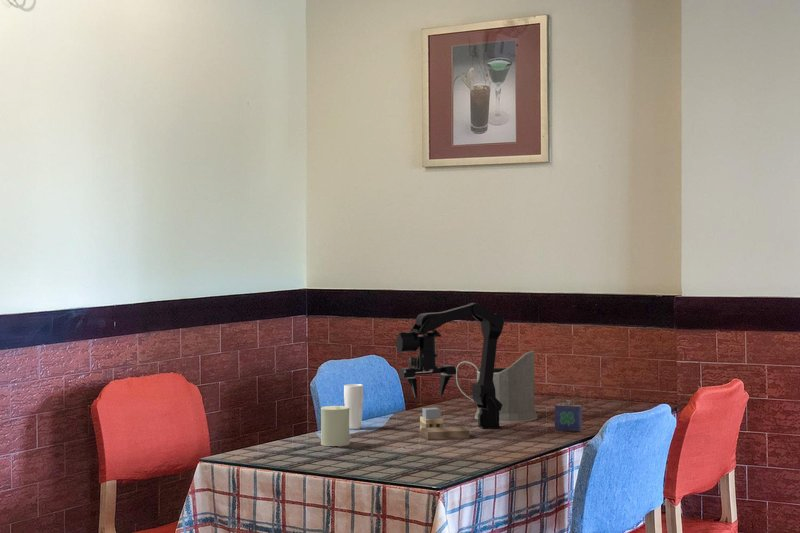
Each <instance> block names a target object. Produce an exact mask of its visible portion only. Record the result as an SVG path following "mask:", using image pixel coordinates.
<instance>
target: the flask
mask: <svg viewBox="0 0 800 533" xmlns="http://www.w3.org/2000/svg"><path fill="white" fill-rule="evenodd" d="M565 401H566V402H562V403H561V402H560V403H558V404H555V405H554V432H561V433H582V432H583V420H582V419H583V406H582V405H581V404H577V405H576V404H571V402H572V401H571V400H570V399H566V400H565Z"/></svg>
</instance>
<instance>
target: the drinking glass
mask: <svg viewBox="0 0 800 533" xmlns="http://www.w3.org/2000/svg"><path fill="white" fill-rule="evenodd" d="M343 402H344V406H347V407H349V408H350V409H349V430H359V429H362V420H363V408H364V407H363V406H364V385H363V384H361V383H359V384H358V383H348V384H344V385H343Z"/></svg>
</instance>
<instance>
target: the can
mask: <svg viewBox="0 0 800 533" xmlns="http://www.w3.org/2000/svg"><path fill="white" fill-rule="evenodd" d="M349 409H350V408H349V407H347V406H345V405H326V406H325V405H324V406H321V408H320V423H321V424H320V425H321V430H320V433H321V435H320V438H321V440H320V445H321V446H323V447H330V446H338V447H346V446H349V445H351V442H350V429H349Z"/></svg>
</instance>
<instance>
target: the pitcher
mask: <svg viewBox="0 0 800 533" xmlns="http://www.w3.org/2000/svg"><path fill="white" fill-rule="evenodd" d="M463 363H464V364H465V363H466V364H469V365H472V366H473V367H474V368H475V370H476V383H477V382H478V380H479V377H480V369H479V367H478V366H477V365H476V364H475V363H473V362H472V361H467V360H466V361H465V360H464V361H461V362H459V363H458V364H457V366H456V374H455V381H456V385H457V388H458V389H459V390H460V392H461V393H462V394H463V396H465V397H466V398H468V399H470V400H471V401H473V402H474V400H473V397H471V396H469V394H467V393H466V392H465V391H464V389H462V388H461V385H460V382H459V368H460V366H461V365H462V364H463ZM493 383H494V386H495V391H496V399H497V400H498V401H499V402H500V403H501V404H502V408H501V410H500V411H499V423H517V422H519V423H520V422H521V421H522V422H530V421H535V420H537V419H538V415H537V412H536V409H535V351H534V350H530V351H528V352H526V353H524V354H523V355H522V356H520V357H519V358H518V359H517V360H515V362H513V363H512V364H511V365H510V366H508V367H494V375H493ZM476 407H477V406H476ZM479 409H480V408H478V407H477V408H476V412H475V414H474V419H476V420H478V414H479ZM534 419H535V420H534ZM522 422H521V423H522Z"/></svg>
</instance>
